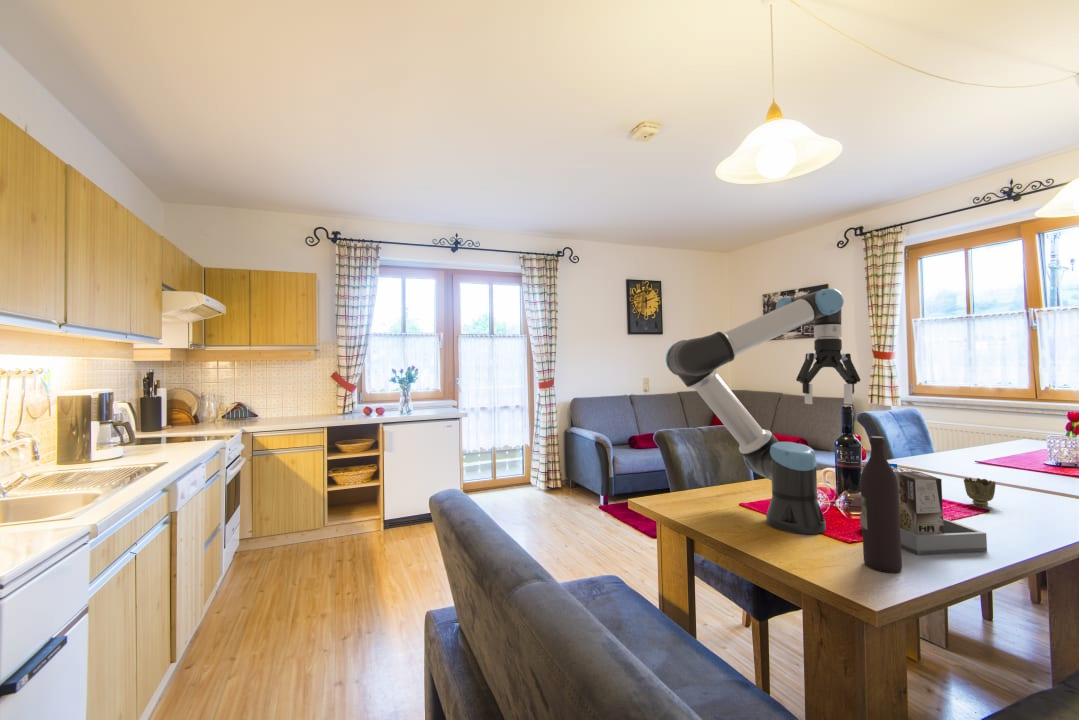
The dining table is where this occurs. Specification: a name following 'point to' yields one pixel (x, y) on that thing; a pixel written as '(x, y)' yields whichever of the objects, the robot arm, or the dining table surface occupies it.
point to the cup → (980, 490)
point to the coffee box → (920, 503)
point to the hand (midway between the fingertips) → (828, 404)
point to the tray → (944, 540)
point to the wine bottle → (880, 512)
